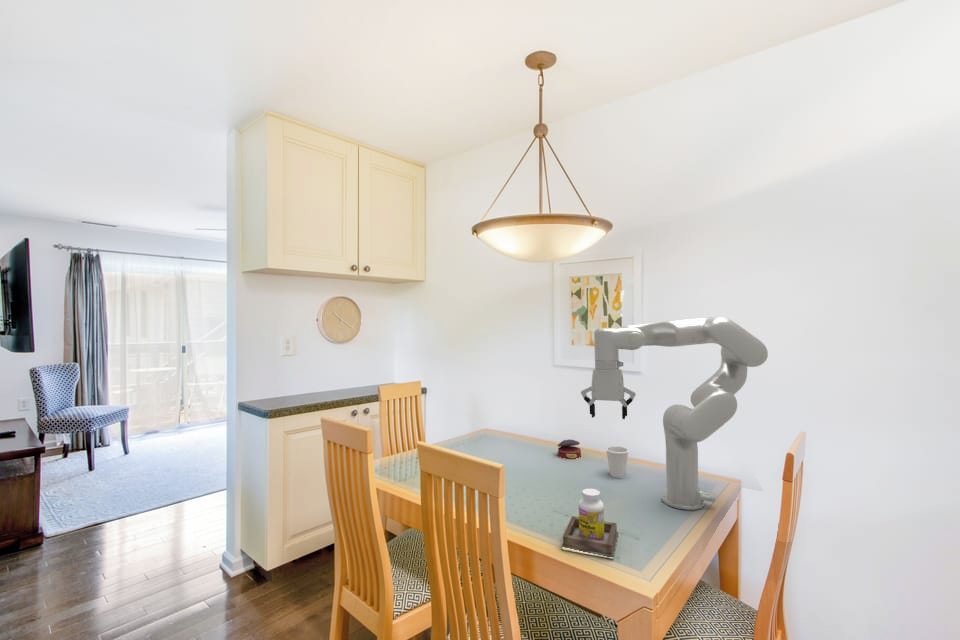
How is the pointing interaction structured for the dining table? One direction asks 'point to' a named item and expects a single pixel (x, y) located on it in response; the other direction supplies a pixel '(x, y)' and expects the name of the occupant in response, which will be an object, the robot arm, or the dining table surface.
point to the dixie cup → (617, 460)
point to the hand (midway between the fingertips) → (608, 417)
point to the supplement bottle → (591, 515)
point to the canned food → (569, 449)
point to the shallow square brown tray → (590, 545)
